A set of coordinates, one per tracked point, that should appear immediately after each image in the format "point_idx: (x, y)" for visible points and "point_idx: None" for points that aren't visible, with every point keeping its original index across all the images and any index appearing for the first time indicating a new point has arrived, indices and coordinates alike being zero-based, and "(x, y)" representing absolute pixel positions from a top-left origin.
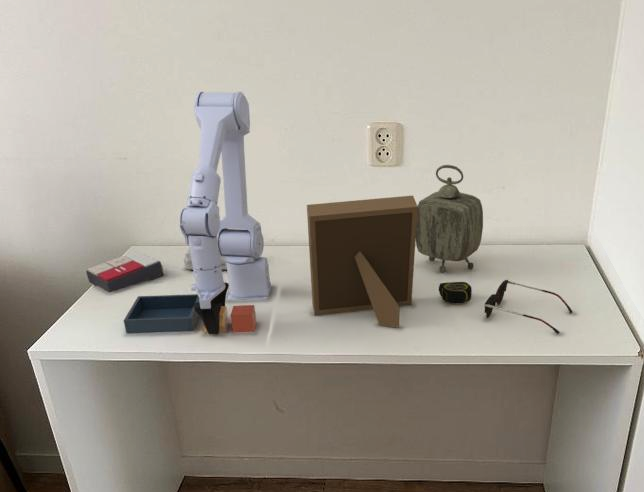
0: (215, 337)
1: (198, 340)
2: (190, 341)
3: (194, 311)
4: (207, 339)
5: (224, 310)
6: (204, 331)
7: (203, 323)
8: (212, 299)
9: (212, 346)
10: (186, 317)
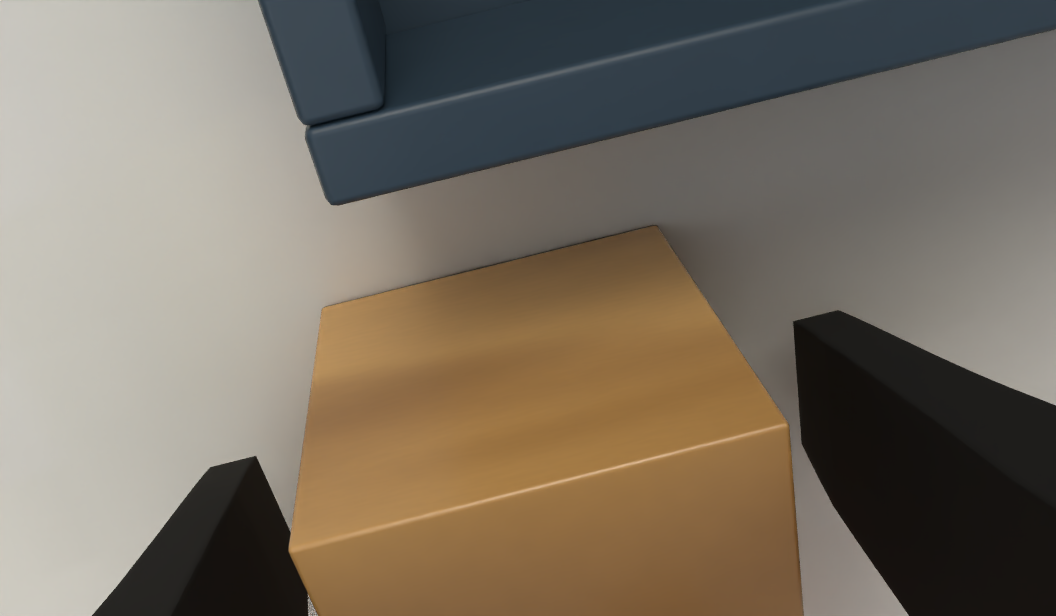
0: (294, 470)
1: (117, 283)
2: (29, 169)
3: (741, 103)
4: (198, 396)
5: None
6: (318, 341)
7: (304, 441)
8: (1010, 574)
9: (19, 540)
10: (335, 69)
